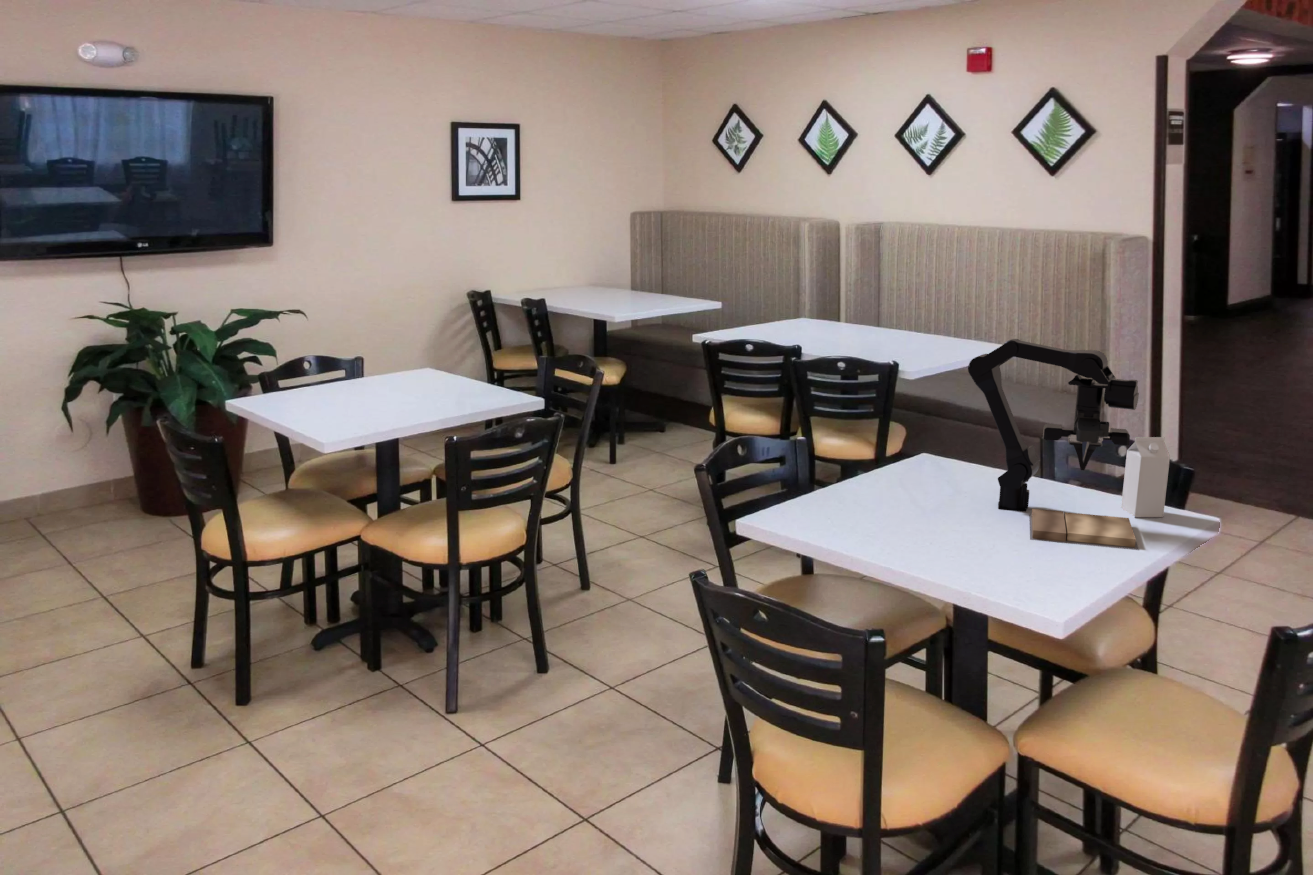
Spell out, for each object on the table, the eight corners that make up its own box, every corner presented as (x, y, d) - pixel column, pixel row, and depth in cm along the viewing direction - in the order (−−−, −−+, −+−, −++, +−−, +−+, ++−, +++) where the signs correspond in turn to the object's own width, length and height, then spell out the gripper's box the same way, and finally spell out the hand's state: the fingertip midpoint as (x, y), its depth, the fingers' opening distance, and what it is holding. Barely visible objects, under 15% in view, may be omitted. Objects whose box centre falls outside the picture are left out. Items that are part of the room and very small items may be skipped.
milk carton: (1120, 509, 274) (1128, 434, 270) (1148, 509, 275) (1156, 434, 271) (1134, 518, 267) (1143, 440, 263) (1163, 517, 268) (1172, 440, 264)
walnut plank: (1032, 538, 250) (1033, 530, 249) (1031, 516, 266) (1032, 508, 266) (1065, 541, 248) (1066, 533, 247) (1062, 519, 264) (1063, 511, 264)
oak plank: (1066, 540, 248) (1067, 532, 248) (1064, 519, 264) (1064, 512, 263) (1134, 547, 244) (1135, 539, 243) (1127, 525, 260) (1128, 517, 259)
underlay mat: (1029, 541, 249) (1030, 539, 249) (1029, 516, 268) (1029, 515, 267) (1138, 551, 242) (1139, 549, 242) (1130, 525, 261) (1130, 524, 261)
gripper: (1047, 408, 255) (1041, 474, 259) (1135, 414, 250) (1128, 481, 253) (1045, 400, 266) (1040, 463, 269) (1130, 405, 260) (1123, 470, 264)
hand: (1082, 470), depth 264 cm, fingers closed
